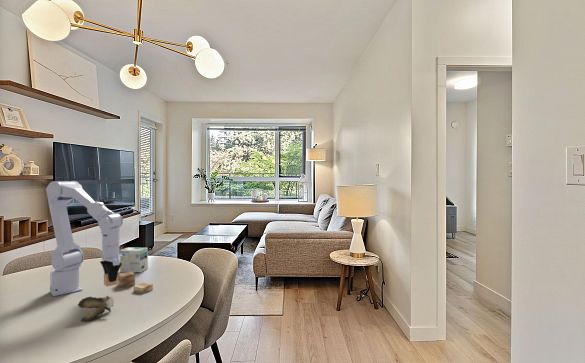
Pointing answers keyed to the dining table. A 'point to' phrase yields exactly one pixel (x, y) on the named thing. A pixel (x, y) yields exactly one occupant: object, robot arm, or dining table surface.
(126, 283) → the tower base
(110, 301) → the eagle figurine
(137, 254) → the light bulb box
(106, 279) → the terracotta cube
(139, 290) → the slab
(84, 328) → the dining table surface
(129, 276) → the tower top
